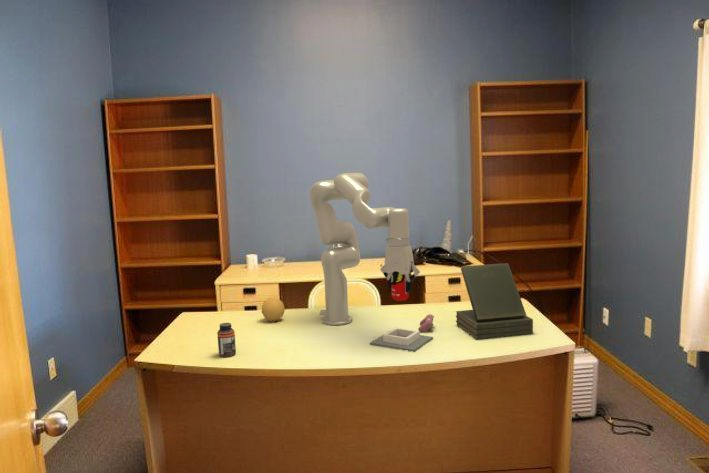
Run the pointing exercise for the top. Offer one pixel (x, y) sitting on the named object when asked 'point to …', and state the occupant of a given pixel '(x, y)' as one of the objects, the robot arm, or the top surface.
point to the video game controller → (426, 323)
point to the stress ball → (273, 309)
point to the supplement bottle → (226, 340)
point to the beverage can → (398, 286)
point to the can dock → (402, 339)
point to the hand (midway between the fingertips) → (400, 290)
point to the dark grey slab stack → (493, 304)
